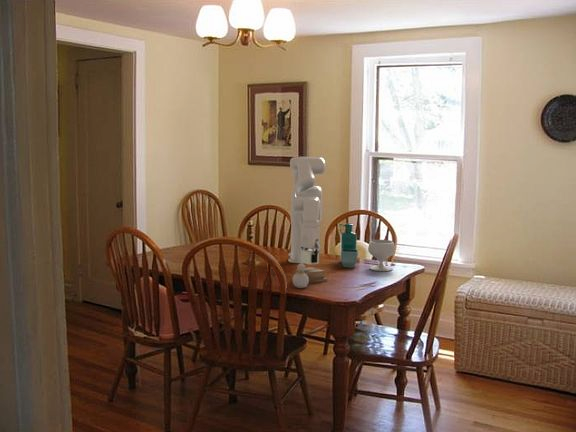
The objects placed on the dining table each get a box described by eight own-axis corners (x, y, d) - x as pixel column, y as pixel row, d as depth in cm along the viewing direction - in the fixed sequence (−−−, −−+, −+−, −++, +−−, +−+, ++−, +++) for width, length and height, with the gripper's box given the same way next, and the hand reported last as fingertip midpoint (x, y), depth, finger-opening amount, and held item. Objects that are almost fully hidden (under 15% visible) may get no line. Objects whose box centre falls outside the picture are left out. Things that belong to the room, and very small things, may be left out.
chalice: (386, 266, 334) (387, 238, 332) (399, 271, 321) (400, 242, 319) (363, 267, 330) (363, 239, 328) (374, 272, 316) (375, 243, 315)
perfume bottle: (304, 285, 286) (304, 259, 285) (313, 289, 278) (314, 263, 276) (289, 286, 283) (289, 260, 282) (298, 291, 275) (299, 264, 273)
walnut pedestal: (292, 279, 298) (292, 269, 298) (311, 276, 305) (312, 266, 305) (307, 284, 289) (307, 273, 288) (327, 281, 295) (327, 270, 295)
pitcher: (355, 261, 347) (356, 222, 345) (356, 264, 339) (357, 224, 336) (337, 260, 347) (338, 222, 345) (338, 263, 339) (339, 224, 336)
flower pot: (356, 268, 326) (357, 252, 325) (340, 268, 327) (340, 251, 326) (358, 265, 334) (358, 249, 333) (341, 264, 336) (342, 248, 335)
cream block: (301, 262, 296) (301, 250, 296) (311, 261, 300) (311, 249, 299) (308, 264, 292) (309, 252, 291) (318, 263, 295) (319, 250, 294)
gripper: (293, 222, 299) (293, 259, 301) (315, 226, 285) (314, 265, 287) (306, 221, 303) (305, 258, 305) (328, 225, 289) (327, 263, 291)
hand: (310, 261), depth 296 cm, fingers closed on cream block, 6 cm apart
